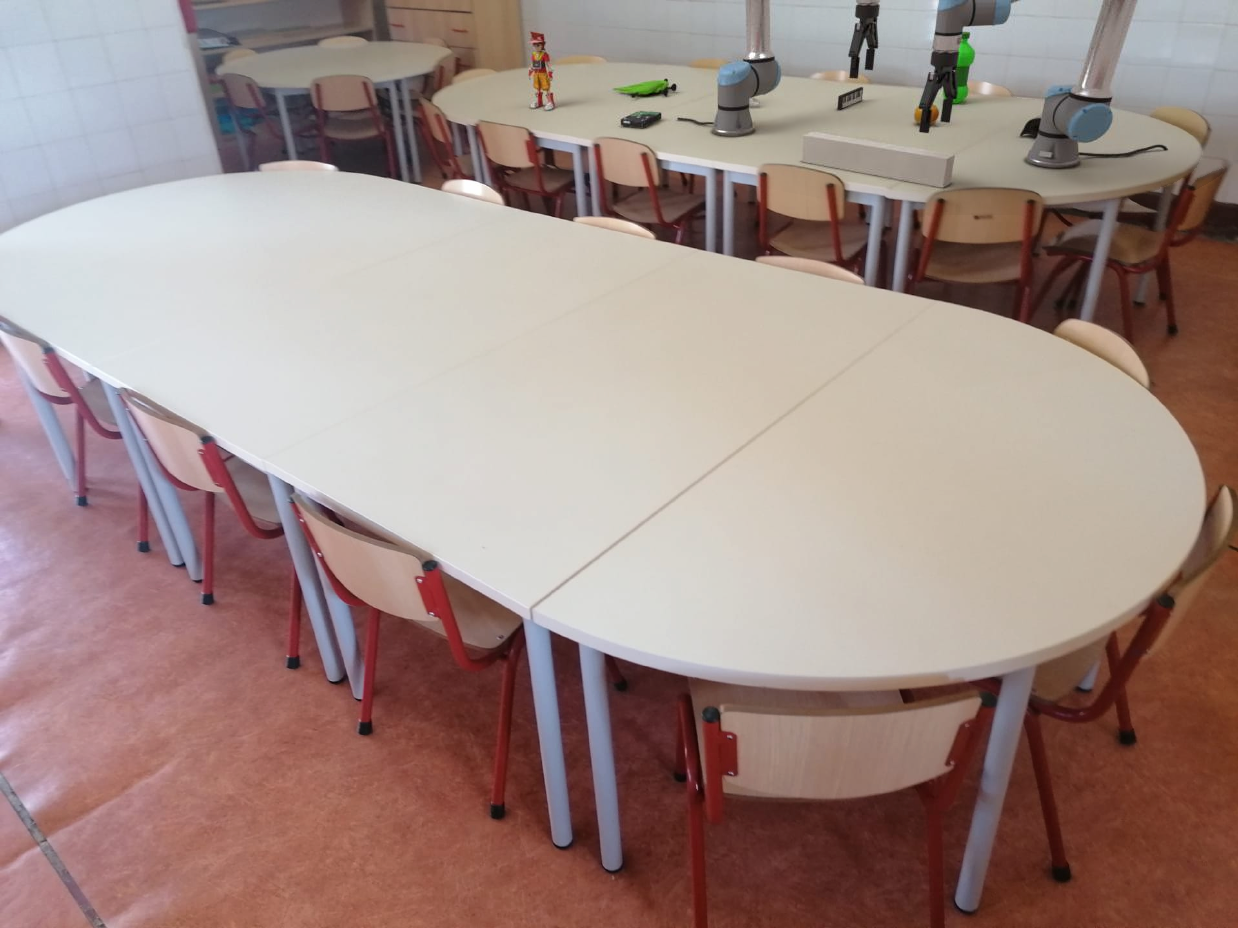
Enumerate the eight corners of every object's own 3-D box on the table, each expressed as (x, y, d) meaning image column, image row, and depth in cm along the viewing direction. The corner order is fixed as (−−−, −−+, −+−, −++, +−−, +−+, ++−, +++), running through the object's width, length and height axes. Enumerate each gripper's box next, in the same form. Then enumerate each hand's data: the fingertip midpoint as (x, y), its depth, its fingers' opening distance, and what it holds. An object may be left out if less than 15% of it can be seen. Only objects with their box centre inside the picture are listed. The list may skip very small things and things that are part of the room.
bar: (801, 161, 301) (803, 135, 296) (810, 158, 304) (812, 131, 299) (942, 188, 272) (947, 159, 267) (950, 183, 275) (954, 154, 270)
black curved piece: (1048, 107, 329) (1073, 90, 321) (1062, 128, 329) (1087, 111, 321) (1015, 130, 312) (1041, 112, 303) (1030, 152, 312) (1055, 134, 304)
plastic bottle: (973, 101, 354) (984, 32, 339) (955, 106, 349) (966, 36, 335) (952, 97, 361) (962, 29, 346) (934, 102, 356) (944, 33, 342)
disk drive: (643, 129, 346) (662, 119, 356) (642, 121, 344) (661, 112, 354) (620, 126, 351) (639, 117, 361) (620, 119, 349) (639, 109, 359)
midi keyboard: (840, 109, 354) (841, 96, 351) (837, 109, 355) (838, 96, 352) (862, 100, 364) (863, 87, 361) (859, 100, 365) (860, 87, 362)
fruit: (909, 116, 327) (923, 96, 324) (910, 119, 335) (924, 100, 332) (928, 129, 326) (942, 109, 323) (929, 132, 334) (943, 112, 331)
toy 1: (525, 109, 381) (517, 32, 364) (534, 104, 388) (527, 28, 371) (550, 110, 377) (543, 32, 360) (559, 105, 384) (553, 28, 367)
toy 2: (686, 85, 398) (631, 84, 414) (685, 72, 395) (629, 72, 411) (651, 104, 381) (596, 103, 397) (650, 92, 378) (594, 91, 394)
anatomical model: (726, 79, 370) (750, 72, 370) (730, 104, 376) (753, 98, 376) (733, 87, 358) (757, 80, 357) (737, 113, 364) (761, 107, 363)
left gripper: (864, 10, 279) (858, 82, 291) (892, -2, 296) (885, 67, 308) (841, 9, 282) (836, 81, 295) (870, -3, 299) (864, 66, 311)
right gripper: (938, 59, 246) (926, 138, 258) (977, 44, 261) (965, 119, 273) (912, 57, 251) (902, 135, 263) (952, 42, 265) (941, 116, 277)
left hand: (861, 74), depth 301 cm, fingers open, 13 cm apart
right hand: (934, 127), depth 268 cm, fingers open, 13 cm apart
